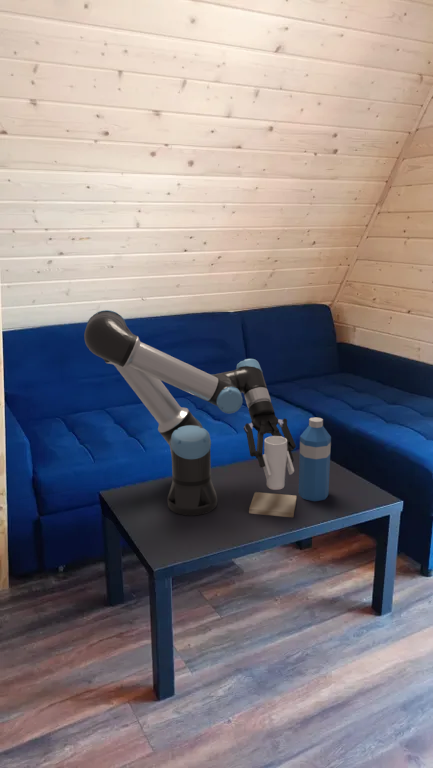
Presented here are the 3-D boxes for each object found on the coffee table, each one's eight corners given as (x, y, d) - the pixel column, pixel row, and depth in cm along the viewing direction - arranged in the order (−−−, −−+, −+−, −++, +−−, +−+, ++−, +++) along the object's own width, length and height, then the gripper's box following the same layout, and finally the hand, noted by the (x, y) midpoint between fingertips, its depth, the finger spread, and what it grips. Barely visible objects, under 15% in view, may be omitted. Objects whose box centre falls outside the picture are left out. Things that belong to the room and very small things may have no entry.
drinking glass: (289, 483, 177) (289, 436, 172) (284, 493, 171) (284, 445, 166) (267, 480, 179) (267, 434, 175) (261, 490, 173) (261, 443, 169)
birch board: (249, 513, 173) (249, 508, 172) (254, 496, 183) (254, 492, 183) (293, 517, 170) (293, 512, 169) (296, 500, 180) (296, 495, 180)
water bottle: (327, 488, 188) (330, 414, 181) (329, 501, 179) (333, 425, 172) (298, 487, 189) (299, 414, 182) (299, 500, 180) (301, 424, 173)
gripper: (285, 407, 186) (306, 474, 176) (227, 414, 181) (245, 484, 170) (292, 396, 180) (315, 465, 170) (232, 403, 174) (252, 475, 164)
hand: (280, 474), depth 170 cm, fingers closed on drinking glass, 7 cm apart
